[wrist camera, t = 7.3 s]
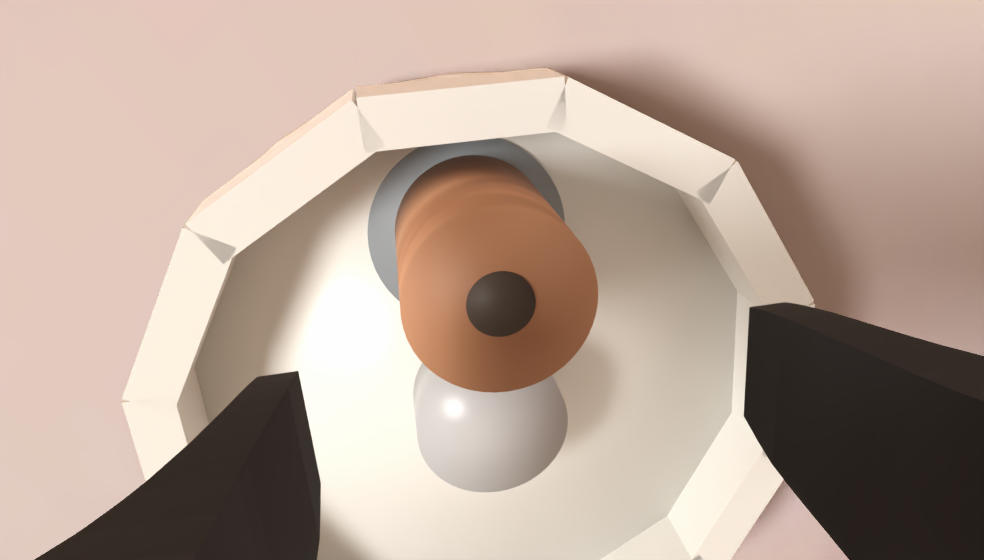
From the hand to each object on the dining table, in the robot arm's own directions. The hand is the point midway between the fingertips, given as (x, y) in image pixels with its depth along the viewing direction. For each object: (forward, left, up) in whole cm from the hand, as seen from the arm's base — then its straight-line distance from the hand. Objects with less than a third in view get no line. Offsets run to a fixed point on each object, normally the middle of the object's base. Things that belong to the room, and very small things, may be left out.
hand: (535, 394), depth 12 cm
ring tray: (0, +5, -9) cm, 11 cm away
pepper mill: (0, 0, -8) cm, 9 cm away
